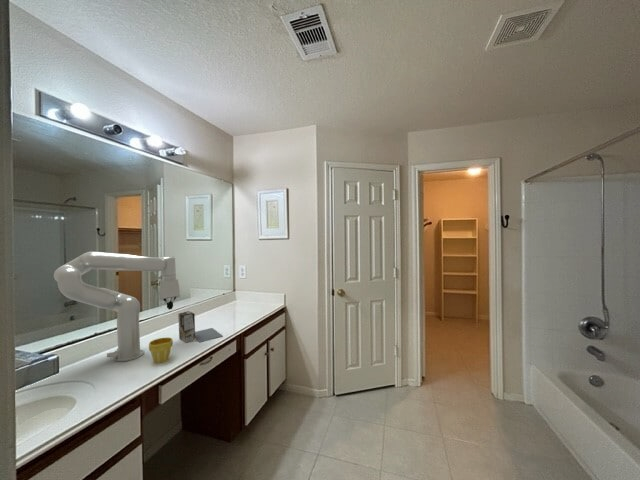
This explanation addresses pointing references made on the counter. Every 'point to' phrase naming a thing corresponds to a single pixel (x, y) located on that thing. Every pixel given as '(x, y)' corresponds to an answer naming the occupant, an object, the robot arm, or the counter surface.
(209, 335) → the mat
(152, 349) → the plant pot
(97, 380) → the counter surface
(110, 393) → the counter surface
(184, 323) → the coffee box
